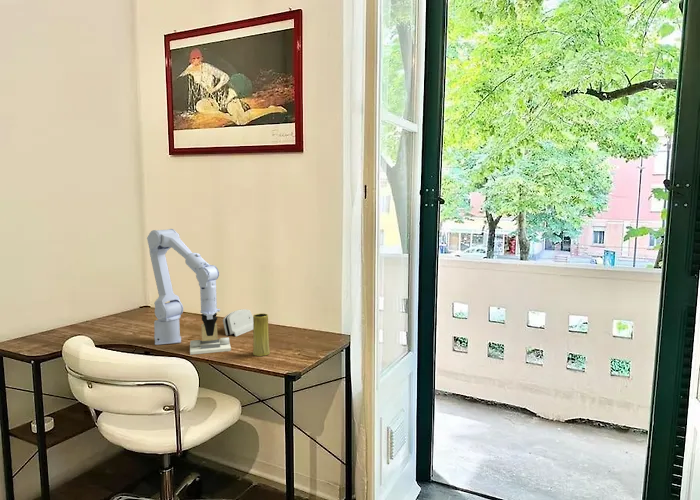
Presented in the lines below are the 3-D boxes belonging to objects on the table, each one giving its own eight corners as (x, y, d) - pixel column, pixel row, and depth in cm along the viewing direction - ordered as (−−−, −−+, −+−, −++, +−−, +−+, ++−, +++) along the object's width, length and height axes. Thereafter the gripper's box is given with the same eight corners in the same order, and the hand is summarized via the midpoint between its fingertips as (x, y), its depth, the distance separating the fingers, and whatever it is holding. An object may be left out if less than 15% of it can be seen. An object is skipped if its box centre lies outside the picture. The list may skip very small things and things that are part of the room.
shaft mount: (190, 354, 179) (189, 345, 179) (190, 345, 190) (189, 336, 190) (231, 350, 183) (230, 341, 183) (228, 341, 195) (228, 333, 194)
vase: (270, 351, 183) (270, 313, 181) (268, 356, 177) (268, 317, 175) (254, 351, 183) (253, 313, 181) (251, 356, 177) (250, 317, 175)
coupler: (217, 336, 189) (216, 322, 189) (217, 339, 185) (217, 325, 185) (201, 338, 187) (201, 324, 187) (202, 341, 184) (201, 326, 183)
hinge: (235, 336, 202) (228, 313, 202) (226, 339, 204) (219, 316, 204) (259, 327, 217) (252, 305, 217) (250, 329, 219) (244, 307, 219)
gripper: (220, 301, 179) (222, 338, 181) (218, 294, 193) (219, 328, 194) (200, 302, 177) (201, 339, 178) (199, 295, 191) (200, 329, 192)
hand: (209, 334), depth 186 cm, fingers closed on coupler, 4 cm apart
